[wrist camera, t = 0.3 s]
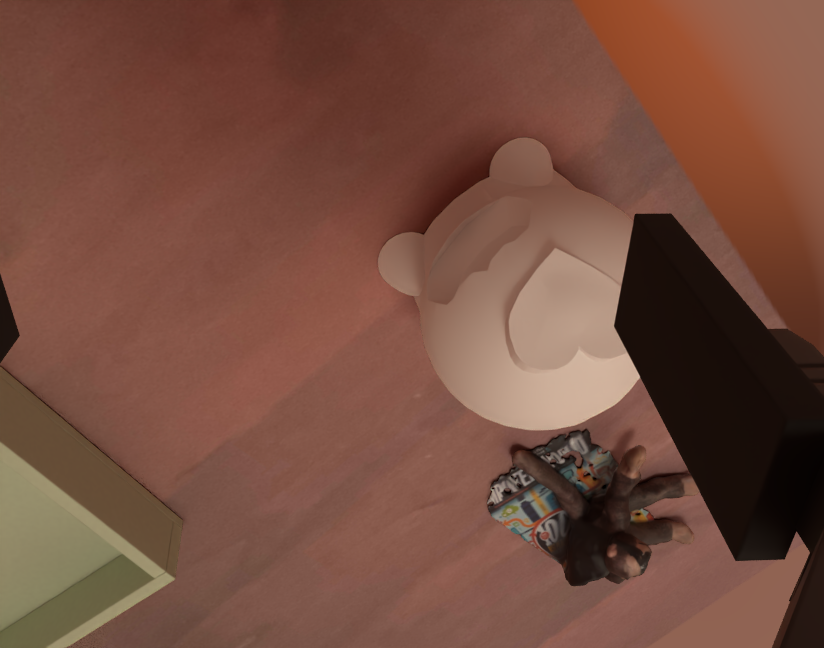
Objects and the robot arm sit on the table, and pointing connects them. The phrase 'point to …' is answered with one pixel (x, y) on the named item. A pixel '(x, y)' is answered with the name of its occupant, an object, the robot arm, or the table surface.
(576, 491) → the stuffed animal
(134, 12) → the table surface
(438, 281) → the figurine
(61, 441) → the tote
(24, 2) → the table surface
